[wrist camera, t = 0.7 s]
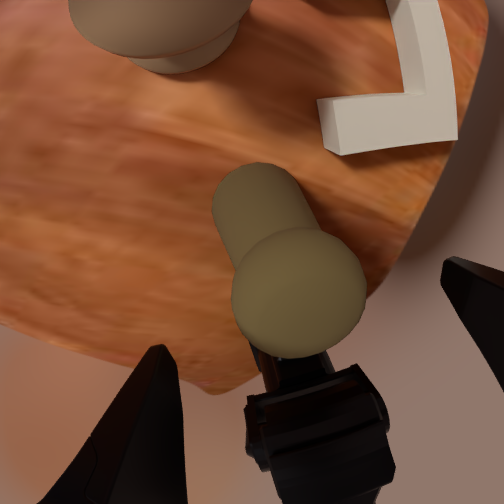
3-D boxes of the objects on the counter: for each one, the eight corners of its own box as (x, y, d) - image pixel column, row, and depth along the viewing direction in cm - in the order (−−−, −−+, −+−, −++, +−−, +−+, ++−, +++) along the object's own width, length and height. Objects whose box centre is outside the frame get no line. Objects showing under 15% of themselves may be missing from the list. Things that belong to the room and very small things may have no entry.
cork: (207, 166, 17) (213, 260, 8) (303, 160, 18) (408, 239, 8) (215, 252, 20) (231, 389, 11) (300, 243, 21) (370, 362, 11)
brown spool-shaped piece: (249, 58, 14) (282, 29, 8) (132, 90, 14) (84, 85, 7) (225, -34, 10) (240, -99, 4) (112, -3, 10) (63, -49, 4)
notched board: (436, 133, 18) (457, 139, 15) (324, 147, 17) (340, 155, 15) (404, -30, 10) (424, -37, 8) (279, -44, 10) (289, -60, 8)
